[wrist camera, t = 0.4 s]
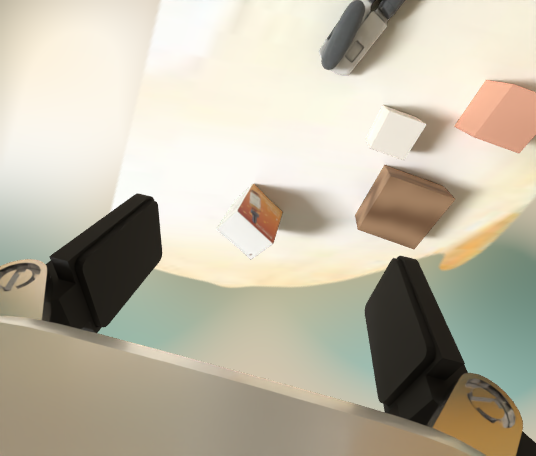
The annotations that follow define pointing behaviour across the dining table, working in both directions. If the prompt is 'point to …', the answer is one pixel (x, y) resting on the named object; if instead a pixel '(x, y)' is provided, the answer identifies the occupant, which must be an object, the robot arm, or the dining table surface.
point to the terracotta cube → (501, 115)
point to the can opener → (355, 34)
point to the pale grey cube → (394, 132)
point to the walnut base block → (402, 207)
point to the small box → (251, 222)
